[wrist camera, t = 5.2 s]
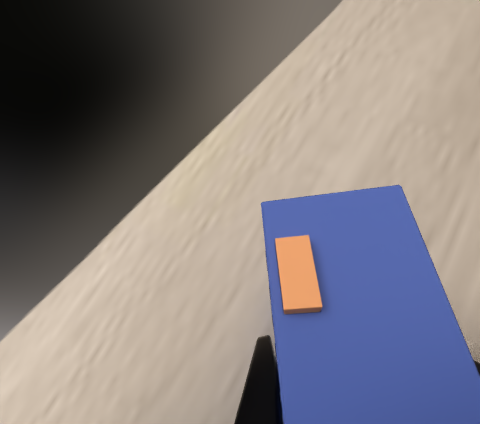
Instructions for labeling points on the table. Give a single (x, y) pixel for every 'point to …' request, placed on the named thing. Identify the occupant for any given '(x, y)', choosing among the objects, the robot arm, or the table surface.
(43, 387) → the table surface
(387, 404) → the walkman
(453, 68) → the table surface
